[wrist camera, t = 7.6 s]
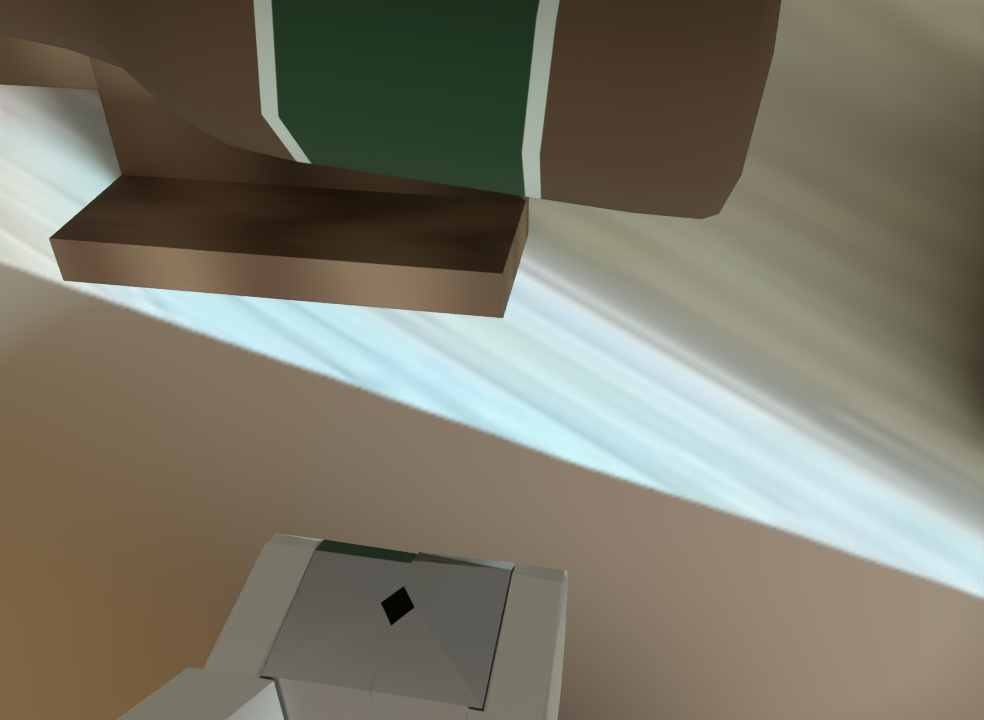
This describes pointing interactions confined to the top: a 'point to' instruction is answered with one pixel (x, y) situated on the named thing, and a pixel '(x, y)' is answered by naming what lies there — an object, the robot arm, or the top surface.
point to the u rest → (269, 214)
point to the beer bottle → (454, 86)
